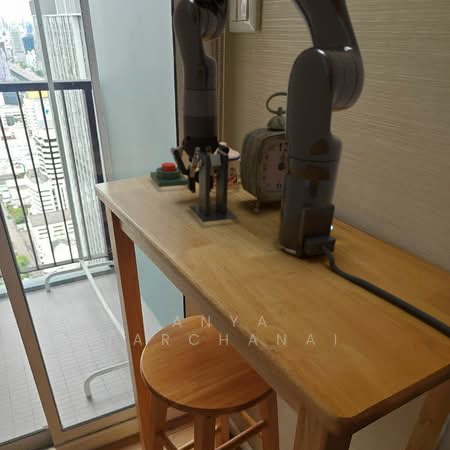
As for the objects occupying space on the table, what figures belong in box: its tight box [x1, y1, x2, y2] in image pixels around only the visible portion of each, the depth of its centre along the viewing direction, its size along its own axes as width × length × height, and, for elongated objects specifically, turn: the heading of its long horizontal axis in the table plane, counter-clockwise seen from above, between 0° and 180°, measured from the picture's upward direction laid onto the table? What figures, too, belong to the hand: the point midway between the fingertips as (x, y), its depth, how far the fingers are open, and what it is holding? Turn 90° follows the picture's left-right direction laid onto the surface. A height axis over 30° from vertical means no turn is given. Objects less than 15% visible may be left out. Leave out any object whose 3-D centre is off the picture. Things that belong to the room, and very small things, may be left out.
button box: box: [149, 166, 188, 188], centre depth 110 cm, size 10×8×4 cm
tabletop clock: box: [239, 91, 288, 213], centre depth 91 cm, size 14×9×25 cm, turn 114°
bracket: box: [188, 150, 238, 223], centre depth 88 cm, size 10×8×14 cm
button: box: [161, 162, 177, 172], centre depth 109 cm, size 4×4×2 cm
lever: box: [194, 154, 221, 185], centre depth 90 cm, size 13×3×3 cm
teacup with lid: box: [212, 141, 241, 190], centre depth 107 cm, size 12×9×12 cm
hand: (200, 191), depth 97 cm, fingers closed on lever, 3 cm apart
